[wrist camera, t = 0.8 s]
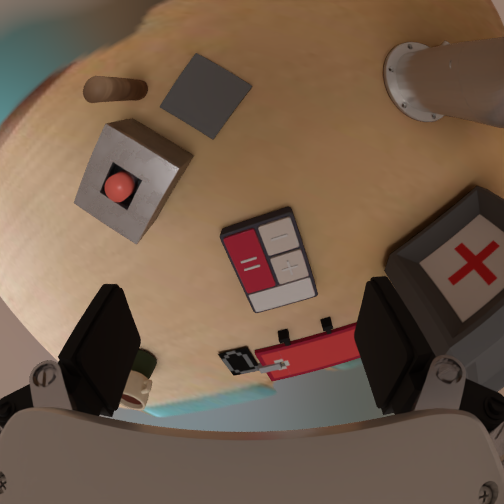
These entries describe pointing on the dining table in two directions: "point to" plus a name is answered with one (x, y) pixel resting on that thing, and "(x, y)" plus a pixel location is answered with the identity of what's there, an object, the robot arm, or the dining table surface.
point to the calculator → (270, 260)
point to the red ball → (120, 185)
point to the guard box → (140, 165)
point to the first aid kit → (459, 284)
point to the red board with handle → (297, 353)
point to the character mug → (139, 382)
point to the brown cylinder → (113, 89)
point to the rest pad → (205, 95)
